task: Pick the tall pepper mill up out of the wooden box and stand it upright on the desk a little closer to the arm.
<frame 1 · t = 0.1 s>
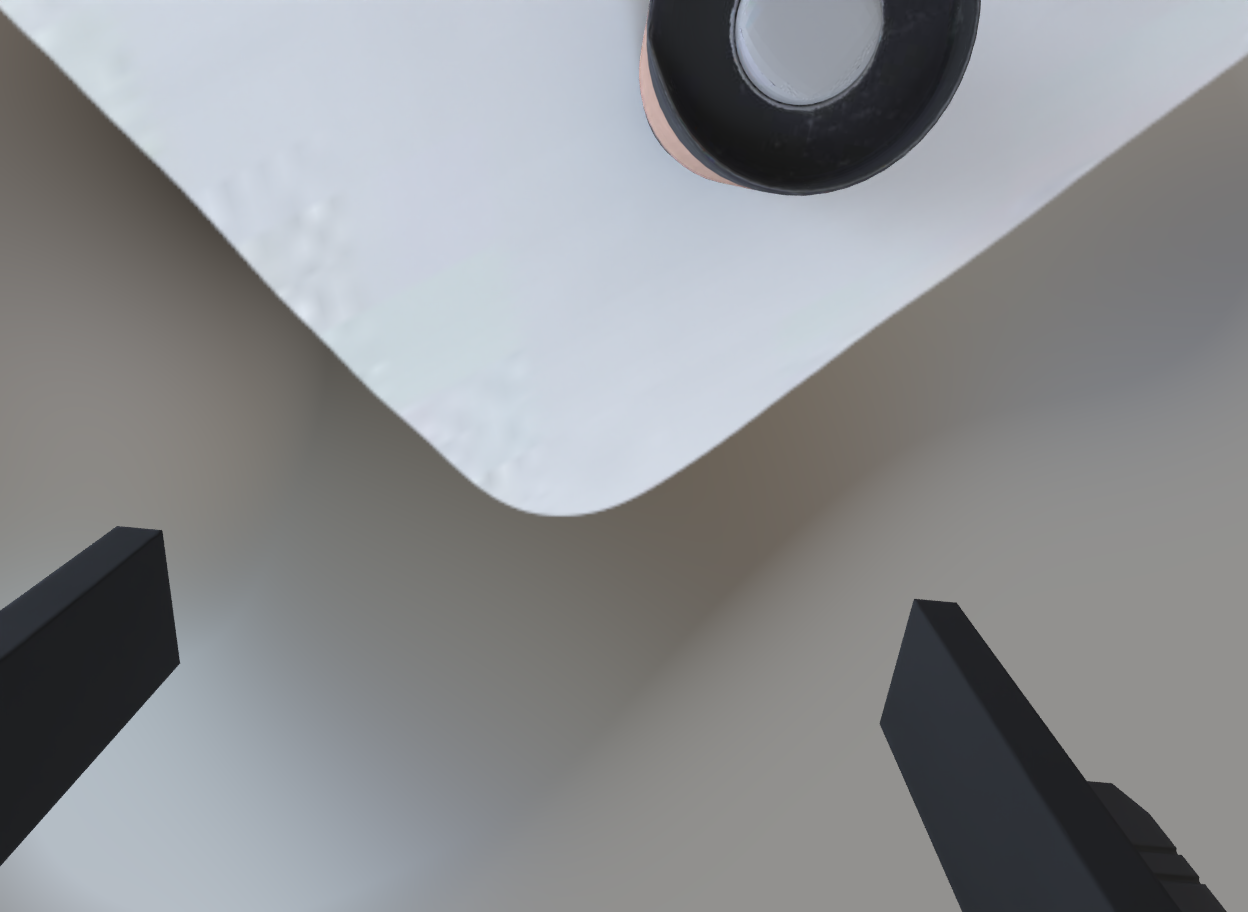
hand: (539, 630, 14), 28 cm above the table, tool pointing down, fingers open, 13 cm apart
travel mug: (718, 91, 36), on the table
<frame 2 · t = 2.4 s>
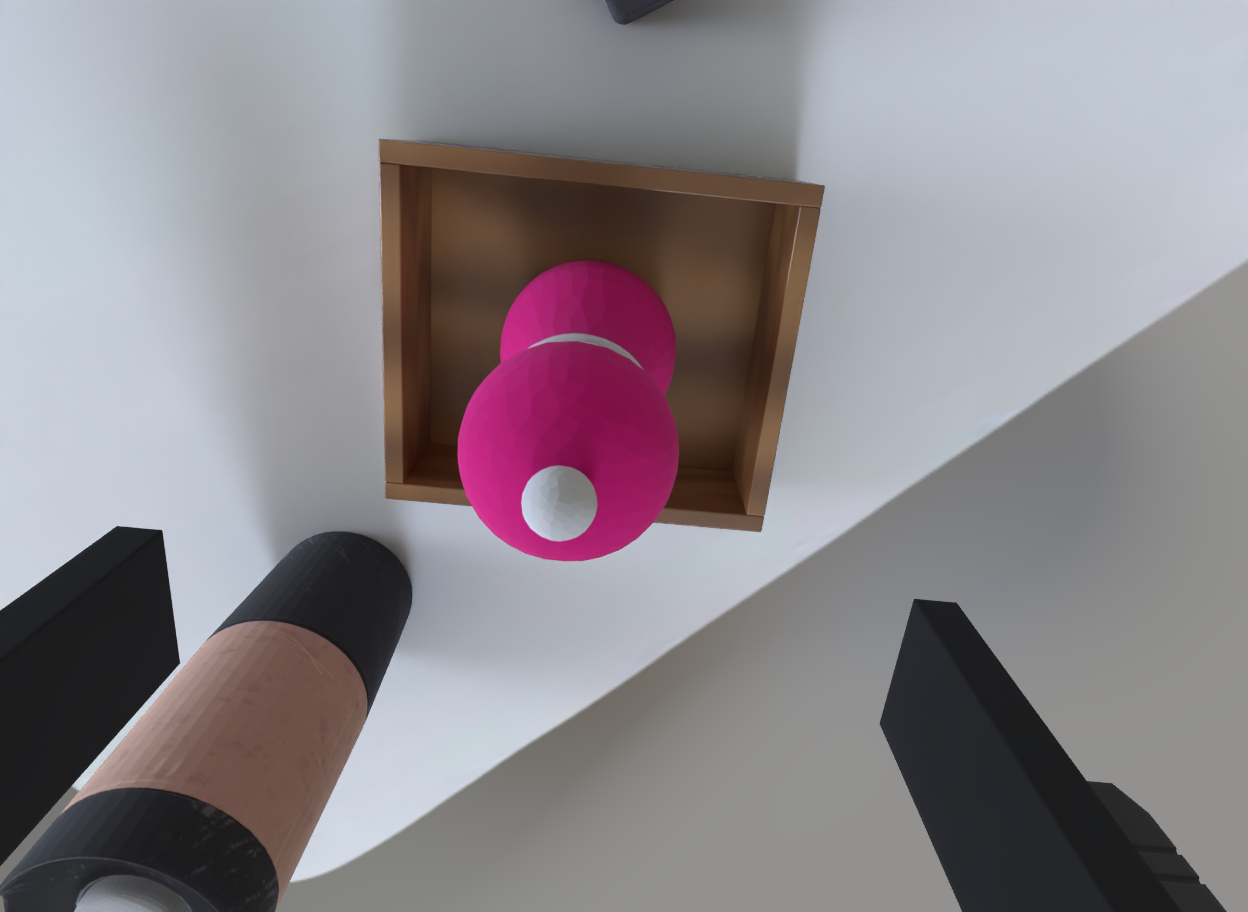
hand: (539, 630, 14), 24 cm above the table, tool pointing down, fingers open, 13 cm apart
pepper mill: (593, 327, 36), resting on wooden box
wooden box: (593, 326, 36), on the table
travel mug: (348, 587, 42), on the table
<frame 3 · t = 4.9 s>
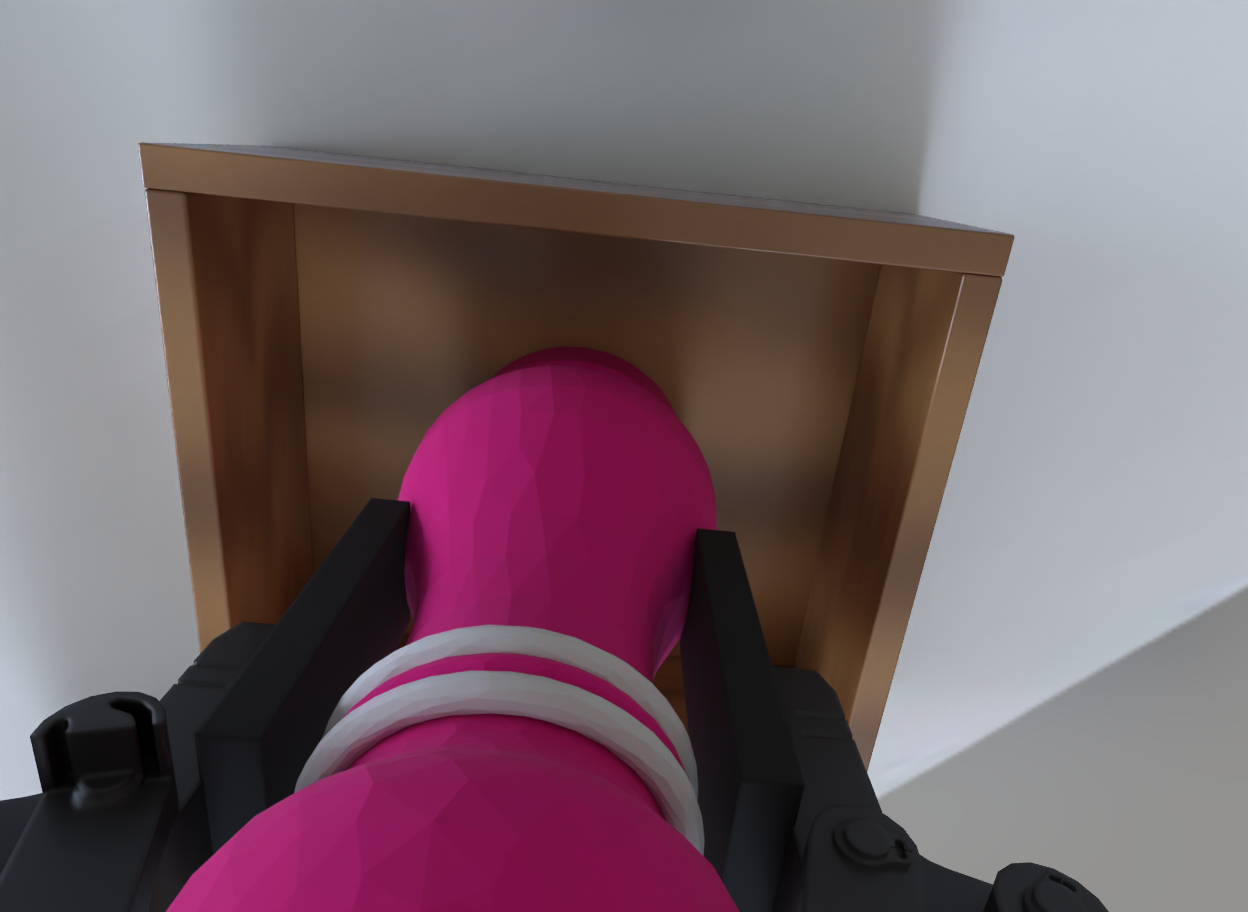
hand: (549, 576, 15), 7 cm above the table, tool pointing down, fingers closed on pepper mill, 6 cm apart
pepper mill: (573, 450, 22), resting on wooden box, touching gripper
wooden box: (573, 449, 22), on the table
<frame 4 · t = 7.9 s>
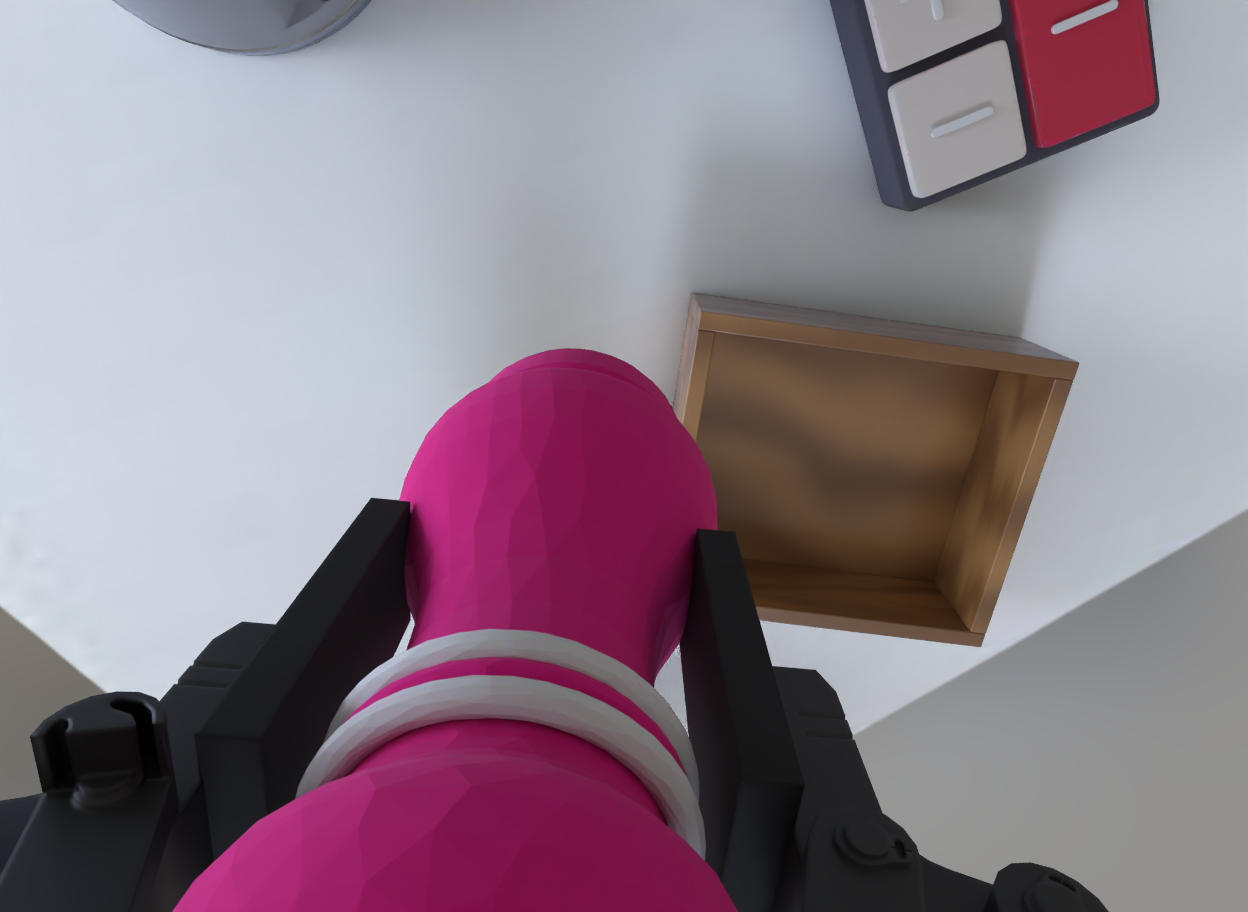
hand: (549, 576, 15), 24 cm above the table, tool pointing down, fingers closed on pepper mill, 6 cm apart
pepper mill: (574, 452, 22), point 17 cm above the table, touching gripper
wooden box: (824, 453, 40), on the table
when the fingers open (7 cm above the table, at t = 11.0 s): pepper mill stays where it is, on the table.
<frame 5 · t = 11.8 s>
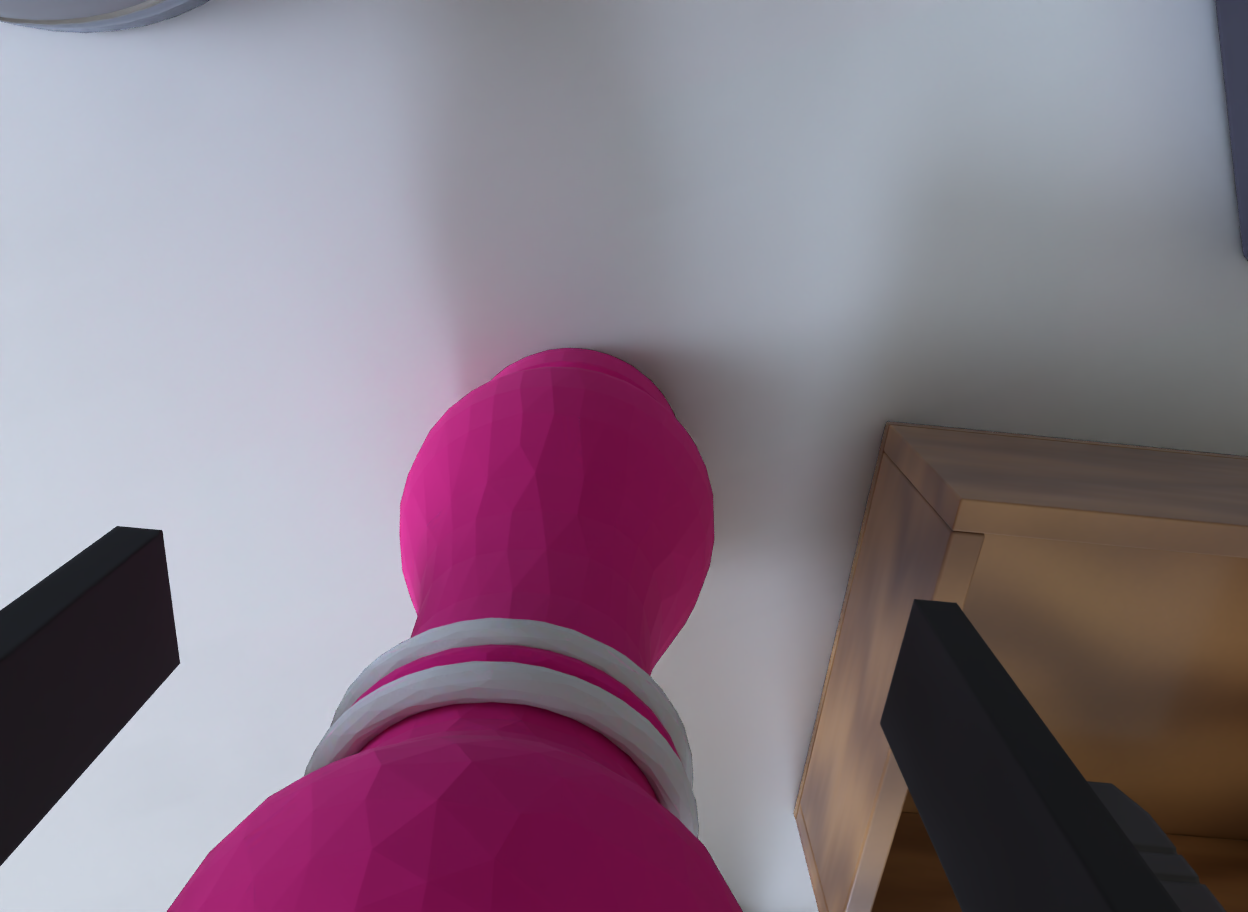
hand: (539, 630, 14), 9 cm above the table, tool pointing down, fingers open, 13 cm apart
pepper mill: (573, 450, 22), on the table
wooden box: (1090, 661, 25), on the table
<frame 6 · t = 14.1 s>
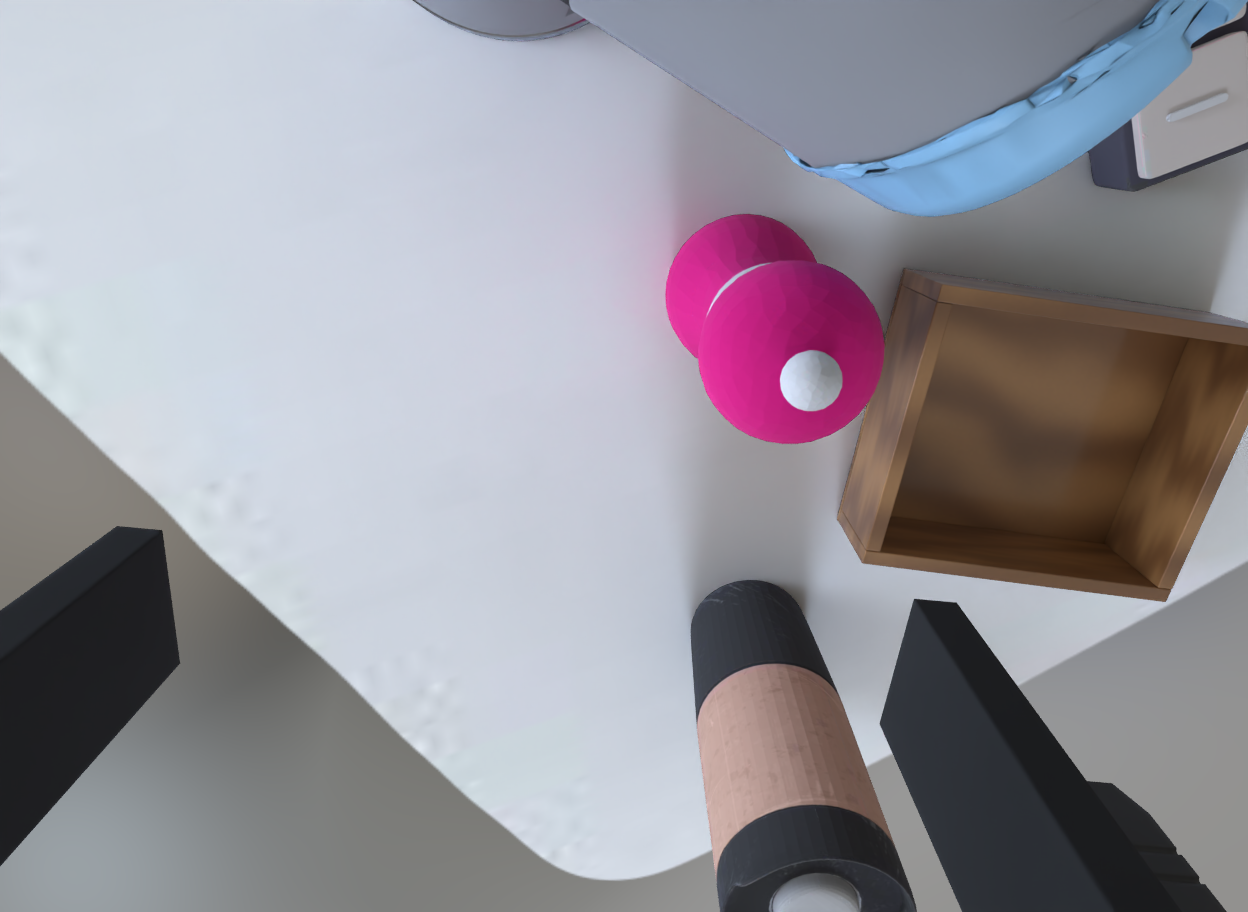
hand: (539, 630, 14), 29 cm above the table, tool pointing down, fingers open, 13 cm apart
pepper mill: (731, 280, 40), on the table
wooden box: (1013, 421, 43), on the table
travel mug: (746, 627, 48), on the table
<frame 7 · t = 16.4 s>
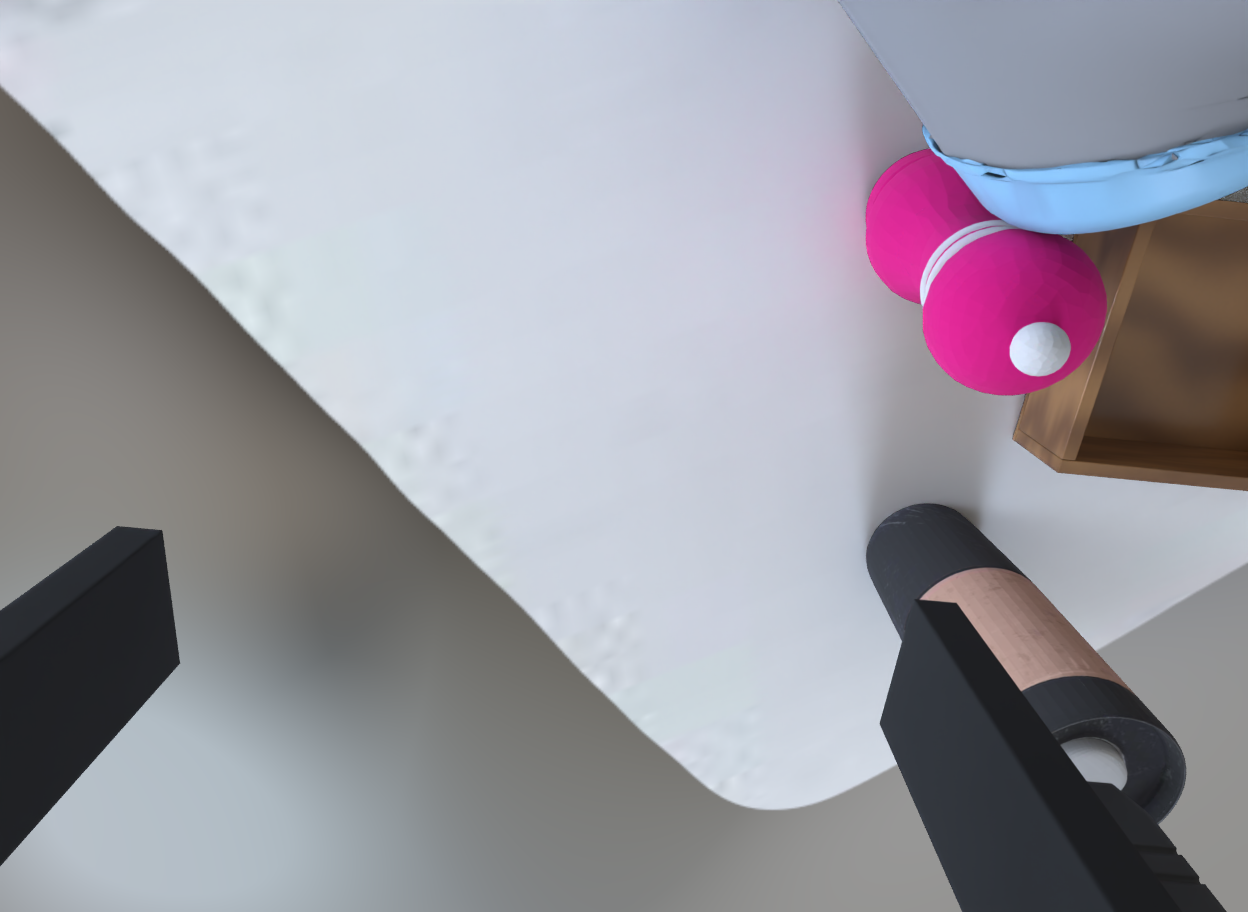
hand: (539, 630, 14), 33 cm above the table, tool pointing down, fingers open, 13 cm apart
pepper mill: (924, 208, 42), on the table, touching arm
wooden box: (1188, 335, 45), on the table
travel mug: (919, 550, 50), on the table
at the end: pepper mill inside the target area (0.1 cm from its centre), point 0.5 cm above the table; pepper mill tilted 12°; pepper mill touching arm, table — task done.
